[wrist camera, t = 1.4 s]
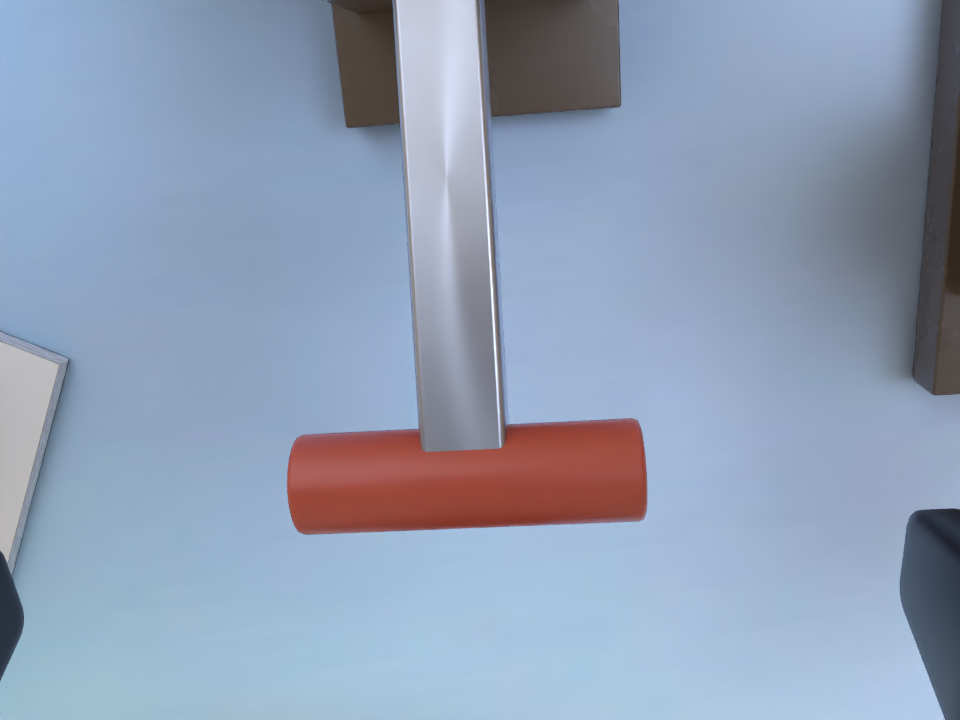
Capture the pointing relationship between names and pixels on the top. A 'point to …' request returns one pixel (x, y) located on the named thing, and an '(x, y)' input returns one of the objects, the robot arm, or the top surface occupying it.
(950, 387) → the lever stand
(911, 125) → the top surface
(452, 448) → the handle
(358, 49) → the brown lever stand
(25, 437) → the car cutout
